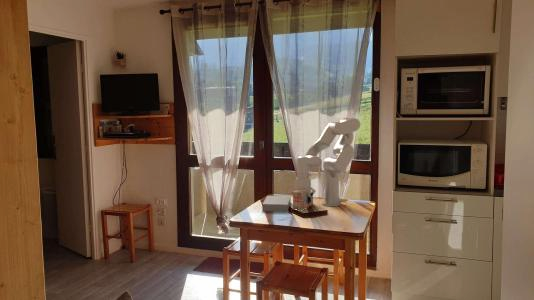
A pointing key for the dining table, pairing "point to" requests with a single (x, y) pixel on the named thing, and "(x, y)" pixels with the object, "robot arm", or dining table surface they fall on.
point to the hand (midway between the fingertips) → (302, 202)
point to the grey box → (276, 203)
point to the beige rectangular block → (301, 199)
